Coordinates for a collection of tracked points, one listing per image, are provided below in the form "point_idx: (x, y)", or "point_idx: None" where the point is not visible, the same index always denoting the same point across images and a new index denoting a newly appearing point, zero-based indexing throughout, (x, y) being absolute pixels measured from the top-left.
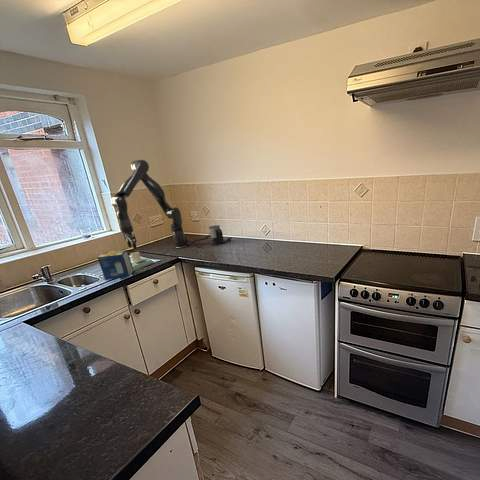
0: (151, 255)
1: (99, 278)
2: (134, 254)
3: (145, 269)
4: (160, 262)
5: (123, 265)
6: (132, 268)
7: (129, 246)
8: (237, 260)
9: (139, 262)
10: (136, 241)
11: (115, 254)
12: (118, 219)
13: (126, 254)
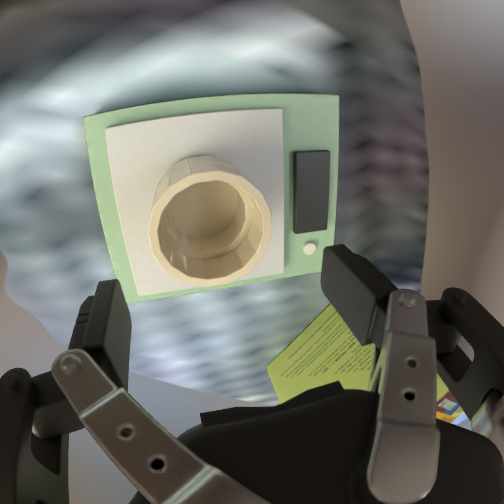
0: (40, 14)
1: (271, 404)
2: (265, 249)
3: (406, 203)
4: (376, 59)
5: None
6: None
7: (126, 321)
8: None
9: (327, 211)
10: (470, 296)
11: (451, 420)
12: None
13: None
